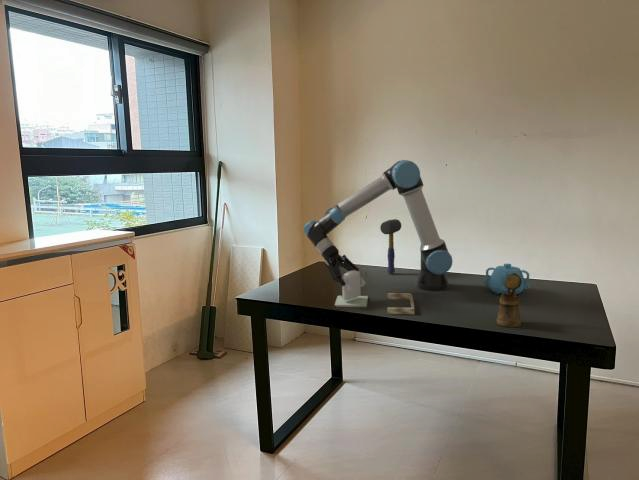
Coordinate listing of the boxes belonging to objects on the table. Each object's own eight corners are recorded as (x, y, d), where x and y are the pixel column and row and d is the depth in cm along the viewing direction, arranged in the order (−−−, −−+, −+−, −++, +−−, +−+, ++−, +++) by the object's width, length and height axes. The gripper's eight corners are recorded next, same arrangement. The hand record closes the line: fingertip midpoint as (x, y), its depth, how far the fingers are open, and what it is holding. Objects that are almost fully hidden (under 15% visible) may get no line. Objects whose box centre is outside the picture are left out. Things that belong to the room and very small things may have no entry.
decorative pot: (498, 298, 221) (499, 269, 218) (481, 288, 237) (482, 261, 234) (532, 296, 223) (533, 267, 221) (513, 286, 239) (515, 259, 236)
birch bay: (411, 298, 224) (411, 293, 224) (414, 314, 203) (414, 308, 202) (387, 298, 226) (387, 293, 225) (387, 314, 204) (387, 308, 204)
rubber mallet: (391, 277, 263) (391, 221, 258) (379, 275, 268) (379, 220, 262) (402, 272, 273) (402, 218, 268) (390, 270, 277) (390, 218, 272)
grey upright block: (348, 301, 217) (348, 274, 214) (340, 299, 219) (340, 272, 217) (362, 295, 224) (361, 269, 222) (354, 294, 227) (354, 268, 225)
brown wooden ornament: (525, 318, 194) (527, 273, 191) (518, 329, 183) (520, 282, 180) (501, 315, 199) (503, 271, 196) (493, 325, 188) (495, 279, 184)
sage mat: (367, 297, 228) (367, 295, 228) (366, 307, 214) (366, 305, 214) (337, 297, 230) (337, 295, 230) (334, 306, 216) (334, 304, 216)
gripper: (337, 250, 237) (365, 286, 230) (307, 259, 219) (337, 299, 212) (346, 240, 233) (375, 277, 226) (316, 248, 215) (347, 288, 208)
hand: (356, 287), depth 219 cm, fingers closed on grey upright block, 10 cm apart
